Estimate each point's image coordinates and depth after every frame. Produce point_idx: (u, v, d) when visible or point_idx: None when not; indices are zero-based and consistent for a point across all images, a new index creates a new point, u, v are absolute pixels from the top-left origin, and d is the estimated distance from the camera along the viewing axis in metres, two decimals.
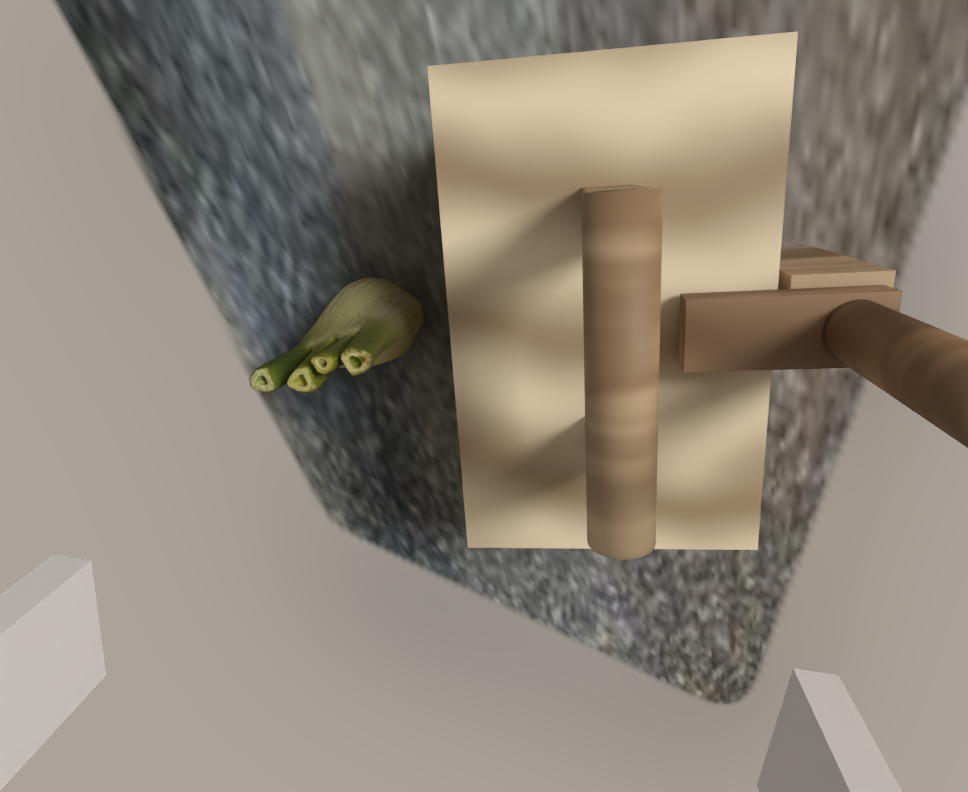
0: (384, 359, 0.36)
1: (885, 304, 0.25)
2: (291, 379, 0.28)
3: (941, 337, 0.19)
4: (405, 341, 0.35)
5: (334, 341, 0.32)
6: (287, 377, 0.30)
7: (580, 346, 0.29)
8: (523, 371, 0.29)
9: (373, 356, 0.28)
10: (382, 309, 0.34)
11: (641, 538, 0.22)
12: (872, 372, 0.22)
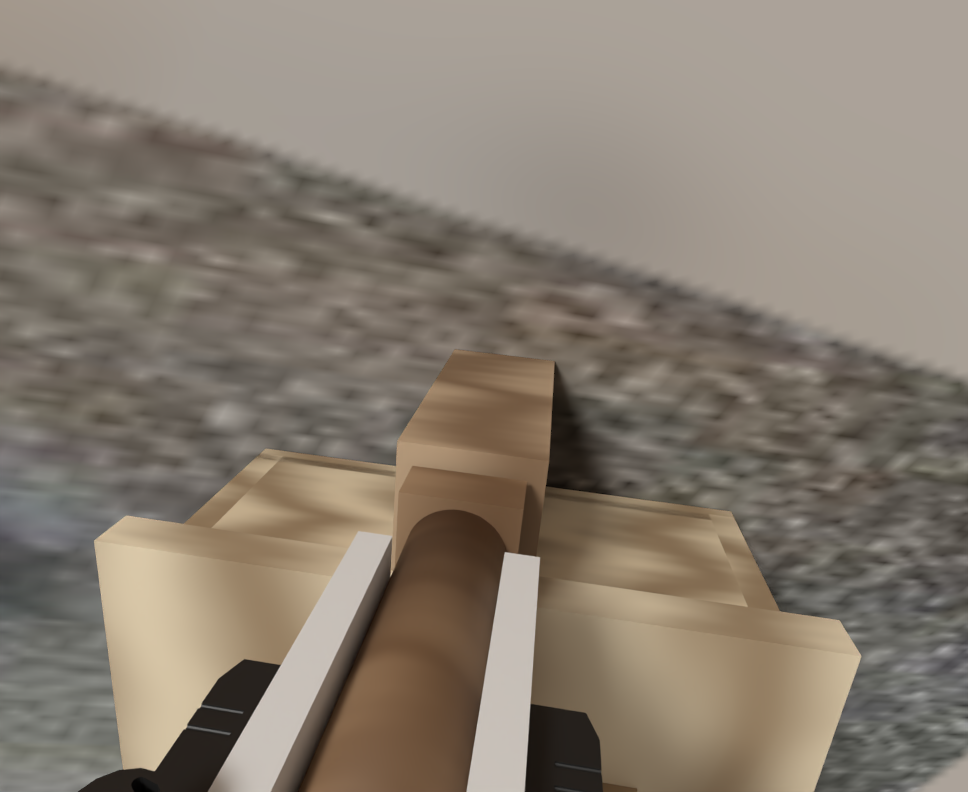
0: None
1: (417, 515, 0.16)
2: None
3: None
4: None
5: None
6: None
7: None
8: None
9: None
10: None
11: None
12: None
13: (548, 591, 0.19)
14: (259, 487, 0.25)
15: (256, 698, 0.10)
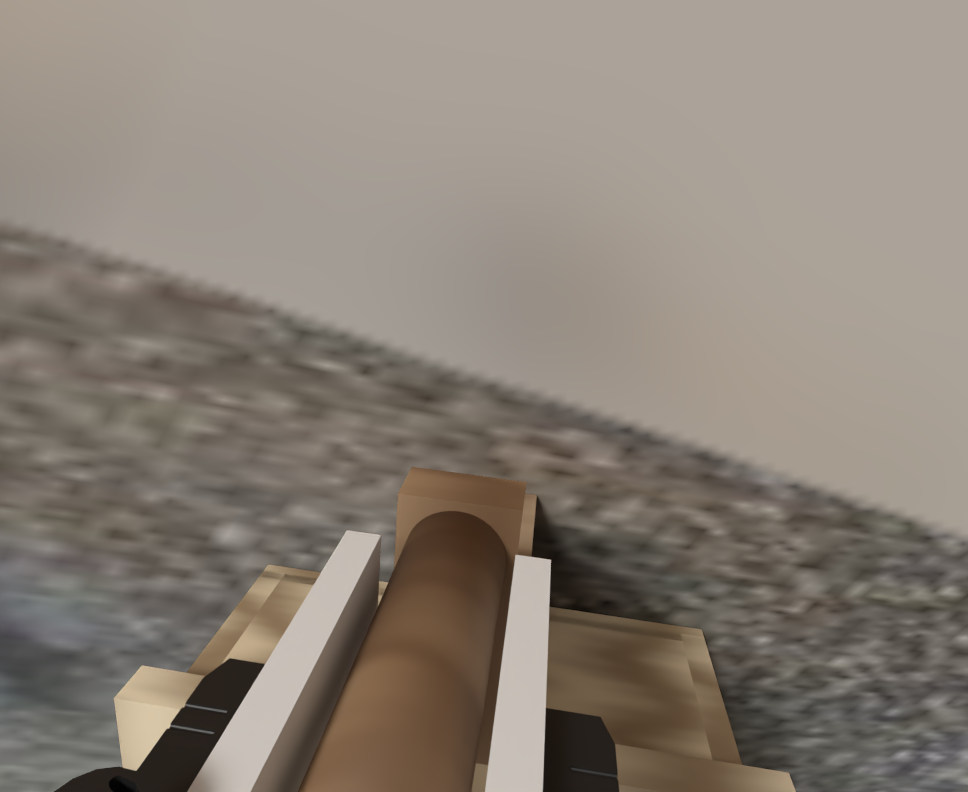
0: None
1: (417, 516, 0.16)
2: None
3: None
4: None
5: None
6: None
7: None
8: None
9: None
10: None
11: None
12: None
13: None
14: (263, 614, 0.27)
15: (240, 697, 0.10)
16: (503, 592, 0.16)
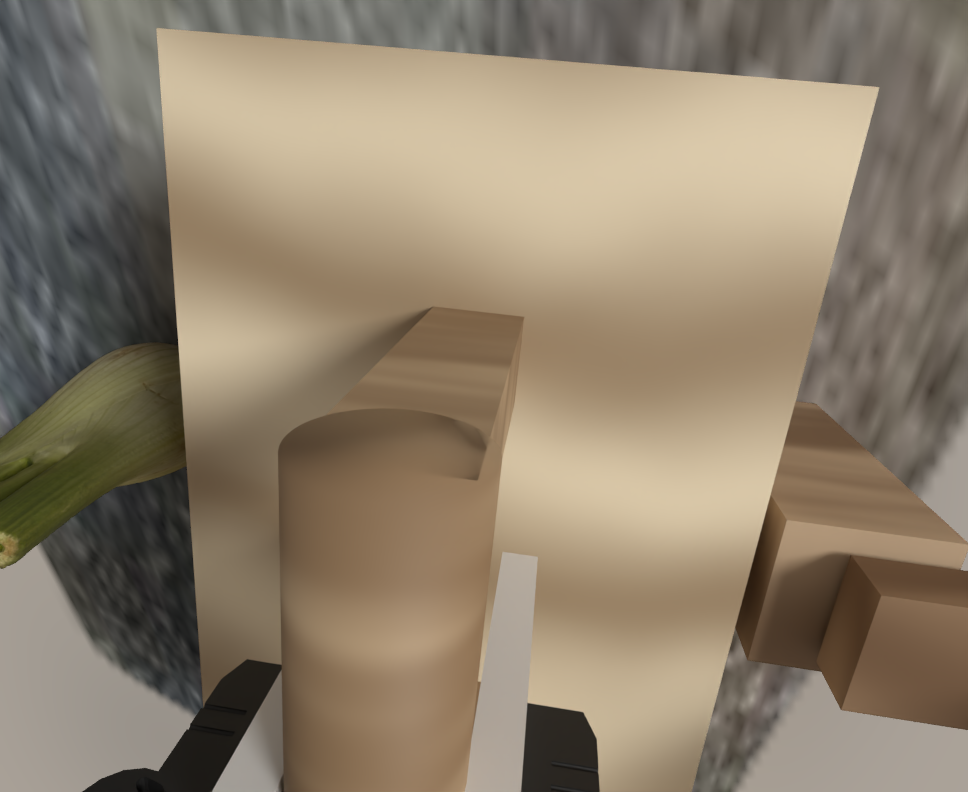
0: (145, 479, 0.23)
1: None
2: None
3: None
4: (179, 458, 0.22)
5: (25, 465, 0.19)
6: None
7: None
8: None
9: (26, 540, 0.15)
10: (135, 411, 0.21)
11: None
12: None
13: None
14: None
15: (259, 698, 0.10)
16: None
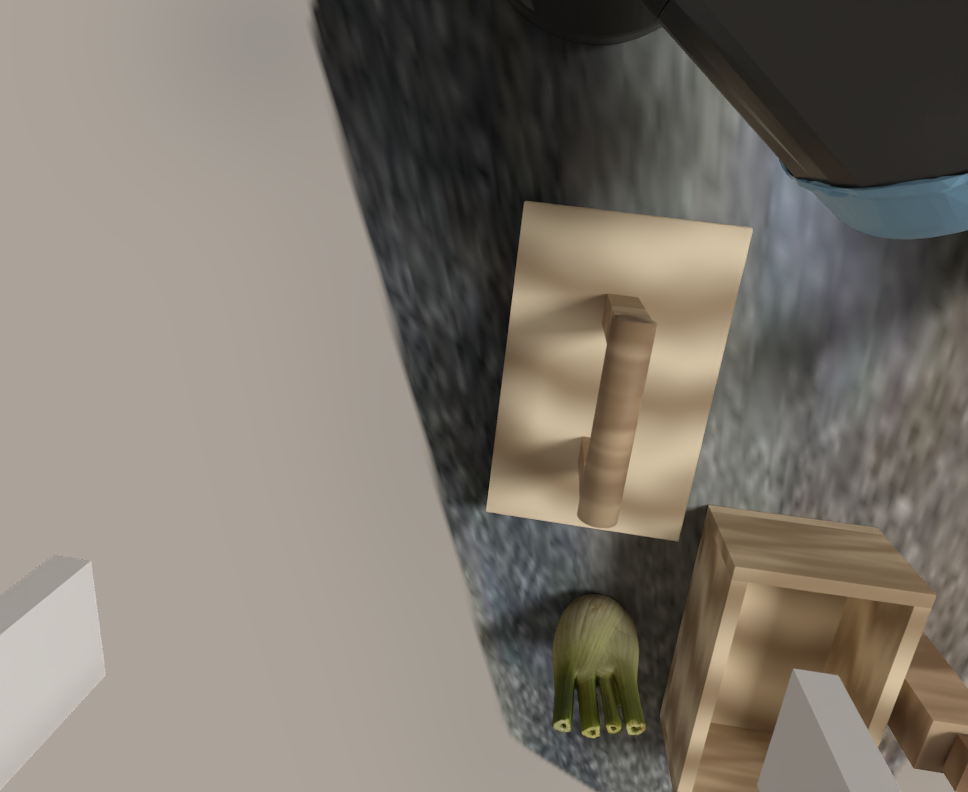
0: None
1: None
2: (586, 731, 0.41)
3: None
4: None
5: (595, 678, 0.45)
6: (572, 715, 0.43)
7: (587, 391, 0.44)
8: (547, 400, 0.44)
9: None
10: (622, 645, 0.47)
11: (610, 517, 0.37)
12: None
13: None
14: None
15: None
16: None
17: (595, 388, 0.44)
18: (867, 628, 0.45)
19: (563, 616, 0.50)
